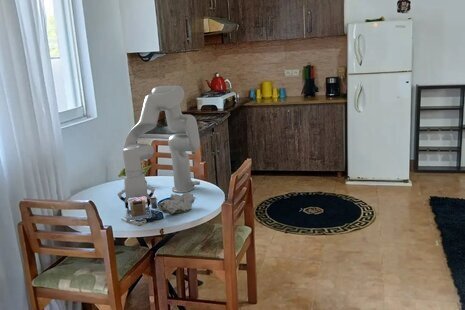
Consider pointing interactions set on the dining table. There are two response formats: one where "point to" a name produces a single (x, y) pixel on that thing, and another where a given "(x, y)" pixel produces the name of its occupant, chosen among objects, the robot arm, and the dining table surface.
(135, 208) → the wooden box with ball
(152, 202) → the grey rounded cylinder
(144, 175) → the toy
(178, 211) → the rock
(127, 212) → the tray
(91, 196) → the dining table surface
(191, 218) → the dining table surface
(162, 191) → the dining table surface
